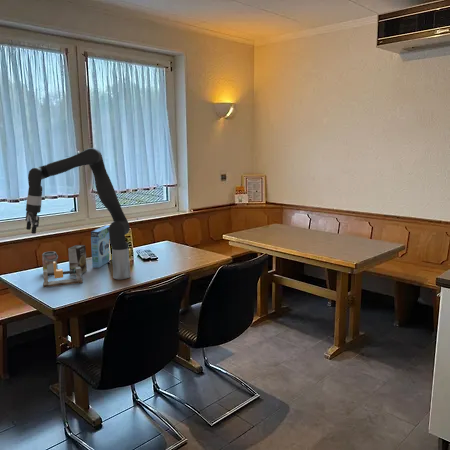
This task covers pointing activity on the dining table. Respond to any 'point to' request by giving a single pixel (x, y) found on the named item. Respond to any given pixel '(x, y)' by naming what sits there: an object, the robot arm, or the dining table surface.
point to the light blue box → (100, 246)
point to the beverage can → (49, 261)
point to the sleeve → (57, 271)
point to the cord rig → (62, 282)
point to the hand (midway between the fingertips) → (30, 231)
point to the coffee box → (77, 258)
